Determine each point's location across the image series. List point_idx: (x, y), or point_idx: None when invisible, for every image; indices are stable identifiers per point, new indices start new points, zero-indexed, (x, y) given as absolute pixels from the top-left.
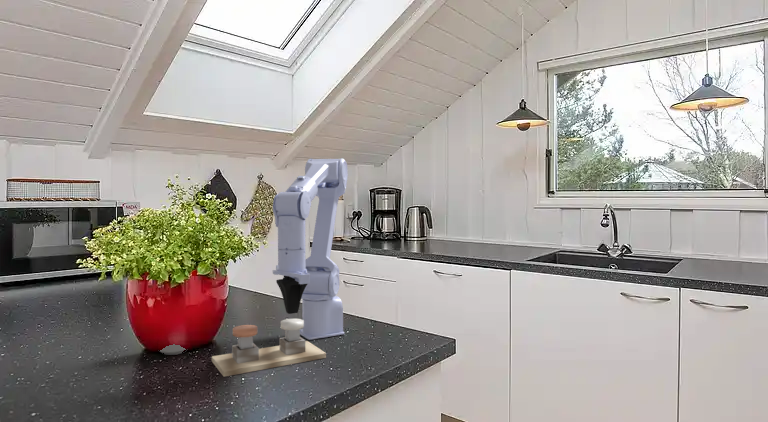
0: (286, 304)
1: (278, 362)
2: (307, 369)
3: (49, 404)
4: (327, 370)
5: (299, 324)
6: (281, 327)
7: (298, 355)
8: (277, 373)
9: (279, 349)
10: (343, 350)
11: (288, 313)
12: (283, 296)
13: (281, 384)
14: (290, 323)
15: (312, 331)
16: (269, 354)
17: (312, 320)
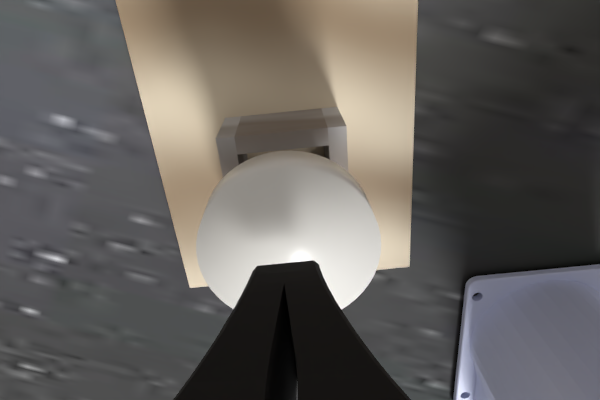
0: (248, 315)
1: (129, 48)
2: (61, 167)
3: None
4: (29, 237)
5: (207, 278)
6: (278, 154)
7: (199, 173)
8: (30, 13)
9: (342, 107)
10: None
11: (257, 266)
12: (334, 374)
13: None
14: (232, 228)
15: (504, 319)
16: (277, 30)
17: (534, 363)
